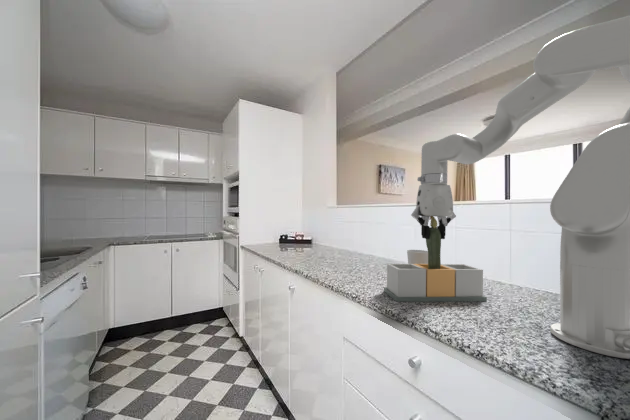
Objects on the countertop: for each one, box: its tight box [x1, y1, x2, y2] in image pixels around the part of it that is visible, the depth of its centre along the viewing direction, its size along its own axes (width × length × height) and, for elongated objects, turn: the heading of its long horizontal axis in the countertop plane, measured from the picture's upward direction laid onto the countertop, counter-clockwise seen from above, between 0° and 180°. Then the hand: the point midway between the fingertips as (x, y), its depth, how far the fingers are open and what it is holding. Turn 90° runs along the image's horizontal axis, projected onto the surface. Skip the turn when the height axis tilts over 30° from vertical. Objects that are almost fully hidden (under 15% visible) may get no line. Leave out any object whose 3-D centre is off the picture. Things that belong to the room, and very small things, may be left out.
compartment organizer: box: [383, 263, 488, 303], centre depth 77 cm, size 10×28×9 cm, turn 95°
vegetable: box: [425, 216, 442, 269], centre depth 77 cm, size 4×4×20 cm
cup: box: [406, 249, 428, 264], centre depth 92 cm, size 8×8×12 cm
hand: (433, 237), depth 77 cm, fingers closed on vegetable, 4 cm apart
